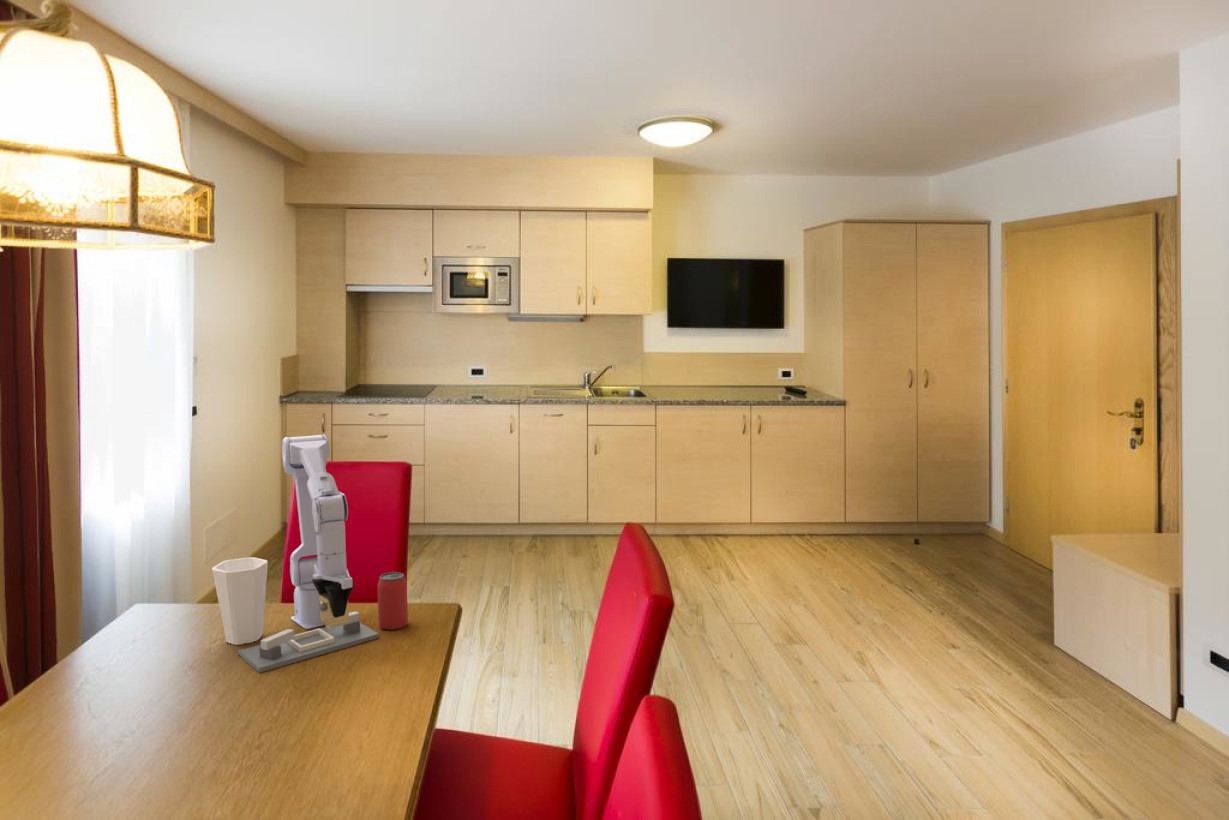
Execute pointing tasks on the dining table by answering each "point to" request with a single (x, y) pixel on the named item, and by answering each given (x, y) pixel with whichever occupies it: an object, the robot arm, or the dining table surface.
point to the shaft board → (306, 644)
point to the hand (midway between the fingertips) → (334, 613)
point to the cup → (241, 598)
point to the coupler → (330, 612)
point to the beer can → (392, 601)
